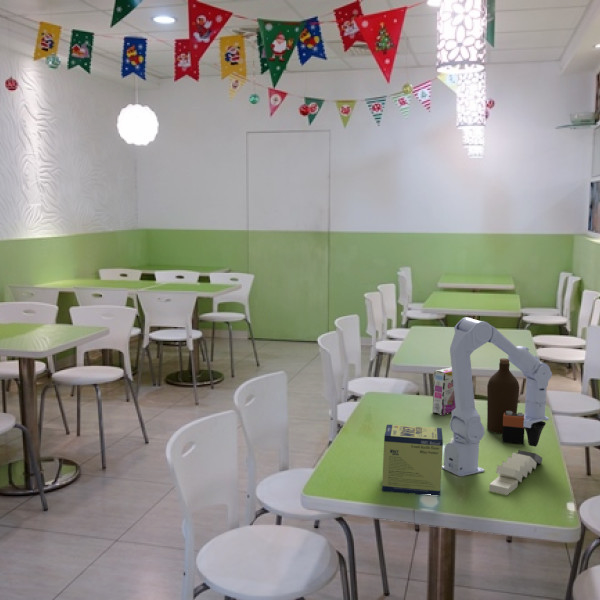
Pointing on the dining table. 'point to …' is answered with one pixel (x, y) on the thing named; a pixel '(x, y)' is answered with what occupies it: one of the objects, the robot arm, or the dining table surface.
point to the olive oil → (501, 396)
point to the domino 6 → (532, 455)
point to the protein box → (412, 459)
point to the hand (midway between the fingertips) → (533, 445)
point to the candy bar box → (443, 392)
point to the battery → (513, 428)
